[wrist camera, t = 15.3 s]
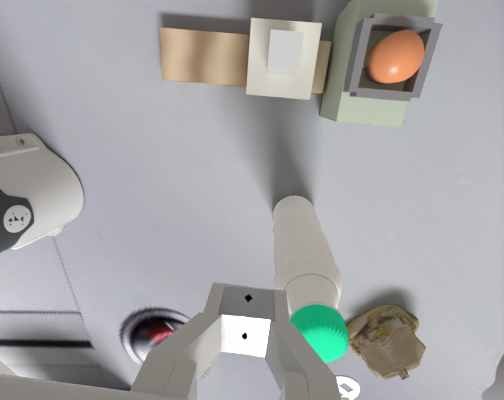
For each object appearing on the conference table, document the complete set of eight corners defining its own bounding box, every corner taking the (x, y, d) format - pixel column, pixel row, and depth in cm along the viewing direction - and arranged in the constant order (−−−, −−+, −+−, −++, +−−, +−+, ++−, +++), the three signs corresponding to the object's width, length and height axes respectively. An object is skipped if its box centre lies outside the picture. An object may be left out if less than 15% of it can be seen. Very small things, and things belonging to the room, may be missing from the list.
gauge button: (359, 82, 25) (370, 80, 23) (370, 36, 24) (383, 28, 21) (399, 85, 25) (415, 84, 23) (412, 39, 24) (431, 32, 21)
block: (167, 80, 36) (162, 79, 34) (165, 31, 34) (159, 27, 32) (319, 93, 35) (322, 93, 34) (328, 44, 33) (331, 41, 31)
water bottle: (264, 208, 43) (257, 336, 20) (300, 186, 41) (338, 299, 18) (287, 238, 45) (305, 387, 21) (322, 218, 43) (383, 358, 20)
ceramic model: (399, 294, 48) (431, 341, 38) (425, 330, 51) (459, 382, 41) (334, 324, 52) (349, 373, 42) (361, 356, 54) (380, 409, 45)
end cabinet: (319, 115, 37) (340, 123, 25) (337, 14, 32) (373, -32, 21) (367, 120, 36) (410, 129, 25) (392, 18, 32) (458, -26, 21)
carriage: (248, 94, 34) (239, 92, 25) (252, 25, 31) (245, -7, 22) (306, 99, 34) (320, 99, 24) (317, 30, 31) (337, 0, 21)
